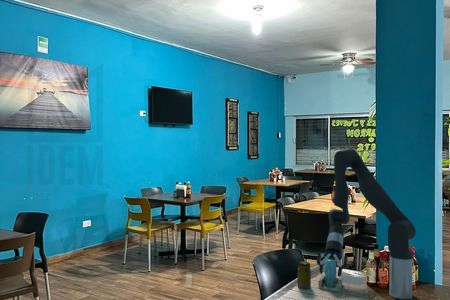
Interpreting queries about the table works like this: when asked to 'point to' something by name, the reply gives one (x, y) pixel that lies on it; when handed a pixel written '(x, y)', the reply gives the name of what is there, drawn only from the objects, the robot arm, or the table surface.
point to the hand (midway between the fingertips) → (329, 274)
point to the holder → (322, 285)
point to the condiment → (304, 275)
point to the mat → (351, 279)
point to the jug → (330, 273)
